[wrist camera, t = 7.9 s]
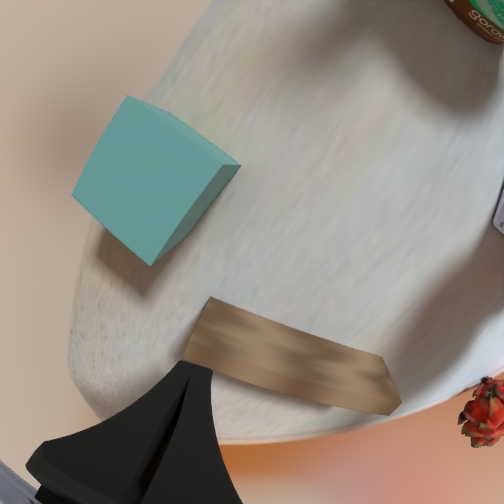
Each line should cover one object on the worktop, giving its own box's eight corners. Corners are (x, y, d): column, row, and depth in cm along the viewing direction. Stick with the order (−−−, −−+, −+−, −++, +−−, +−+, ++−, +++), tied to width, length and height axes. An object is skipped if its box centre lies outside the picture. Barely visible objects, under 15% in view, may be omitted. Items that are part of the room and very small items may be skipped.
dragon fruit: (472, 410, 24) (461, 361, 24) (521, 400, 18) (521, 345, 17) (458, 460, 19) (448, 419, 18) (513, 453, 12) (520, 407, 12)
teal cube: (241, 165, 17) (223, 164, 11) (185, 238, 19) (148, 269, 13) (171, 113, 16) (127, 95, 10) (123, 187, 18) (70, 198, 12)
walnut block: (381, 357, 20) (402, 402, 15) (372, 369, 21) (389, 415, 15) (210, 296, 20) (188, 340, 14) (204, 312, 20) (182, 358, 15)
